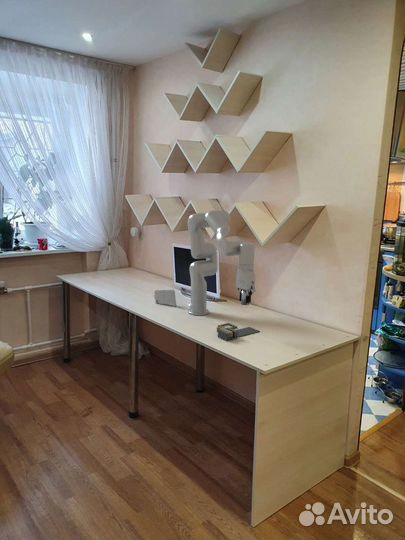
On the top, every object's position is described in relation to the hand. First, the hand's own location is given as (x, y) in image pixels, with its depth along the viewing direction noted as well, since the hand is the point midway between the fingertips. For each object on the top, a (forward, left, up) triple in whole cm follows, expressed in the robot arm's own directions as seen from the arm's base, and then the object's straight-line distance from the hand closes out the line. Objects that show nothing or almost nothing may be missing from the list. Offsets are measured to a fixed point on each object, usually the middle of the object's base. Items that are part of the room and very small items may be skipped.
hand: (245, 301), depth 212 cm
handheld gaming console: (-68, -7, -17) cm, 70 cm away
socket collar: (-11, -2, -17) cm, 20 cm away
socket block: (+1, -12, -17) cm, 21 cm away
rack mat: (0, 0, -17) cm, 17 cm away
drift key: (-1, -13, -16) cm, 20 cm away
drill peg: (0, 0, -1) cm, 1 cm away
